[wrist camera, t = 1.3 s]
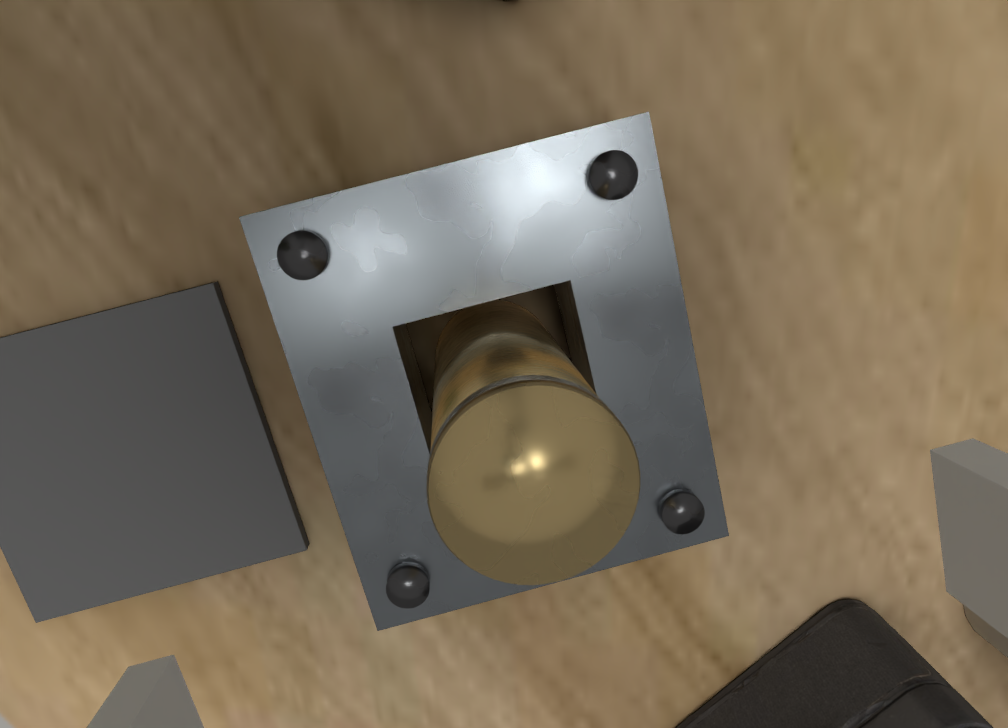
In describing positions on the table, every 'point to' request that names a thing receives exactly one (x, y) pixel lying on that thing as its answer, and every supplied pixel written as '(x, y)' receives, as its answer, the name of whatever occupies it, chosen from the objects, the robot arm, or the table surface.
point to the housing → (474, 280)
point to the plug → (523, 452)
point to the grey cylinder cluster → (987, 631)
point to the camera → (839, 681)
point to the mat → (135, 455)
